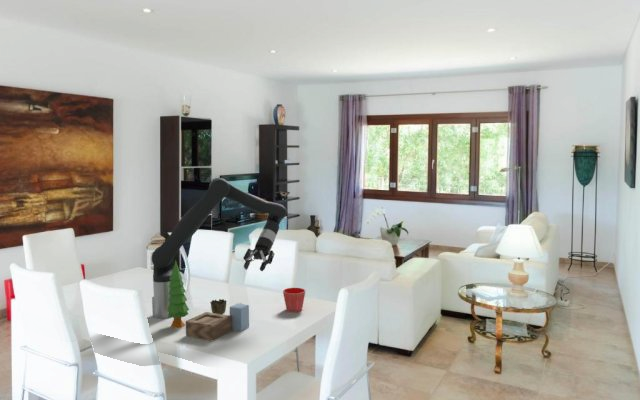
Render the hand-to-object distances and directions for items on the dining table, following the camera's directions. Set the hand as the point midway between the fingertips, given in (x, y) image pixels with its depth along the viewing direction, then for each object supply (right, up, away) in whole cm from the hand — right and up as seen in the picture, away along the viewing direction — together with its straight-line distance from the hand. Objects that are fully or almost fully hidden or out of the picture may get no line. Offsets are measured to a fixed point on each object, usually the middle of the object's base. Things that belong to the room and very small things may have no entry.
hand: (253, 269), depth 240 cm
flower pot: (+18, -23, +19) cm, 34 cm away
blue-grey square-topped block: (-5, -25, -8) cm, 27 cm away
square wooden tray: (-17, -26, -15) cm, 34 cm away
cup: (-17, -24, +6) cm, 30 cm away
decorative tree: (-33, -25, -6) cm, 42 cm away
